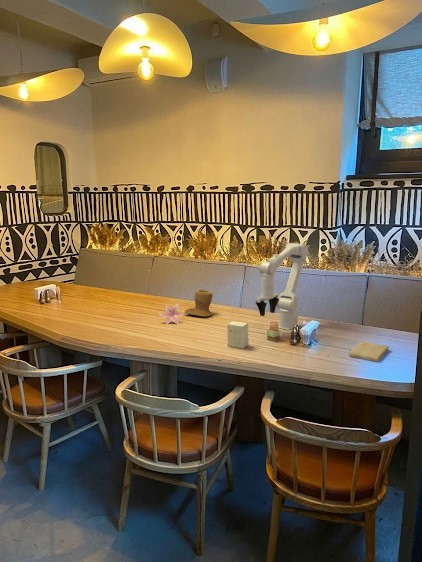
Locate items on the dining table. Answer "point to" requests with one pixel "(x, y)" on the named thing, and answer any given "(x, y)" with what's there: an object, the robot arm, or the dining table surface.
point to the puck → (273, 326)
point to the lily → (171, 314)
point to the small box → (237, 334)
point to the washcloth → (369, 351)
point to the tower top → (273, 333)
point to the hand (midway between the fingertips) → (267, 314)
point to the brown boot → (201, 304)
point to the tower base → (273, 338)
